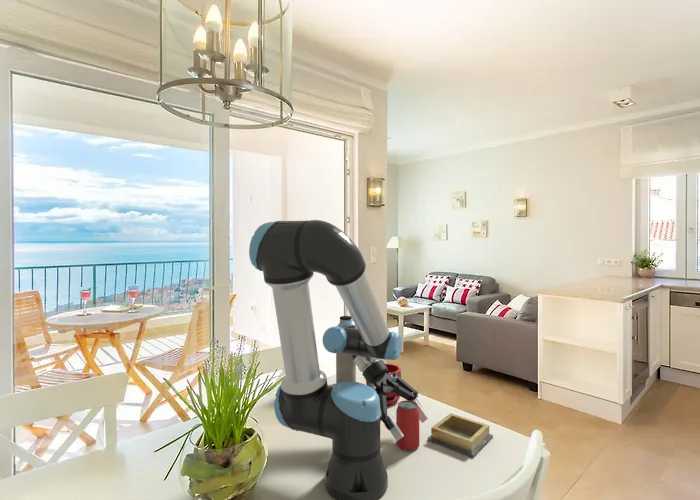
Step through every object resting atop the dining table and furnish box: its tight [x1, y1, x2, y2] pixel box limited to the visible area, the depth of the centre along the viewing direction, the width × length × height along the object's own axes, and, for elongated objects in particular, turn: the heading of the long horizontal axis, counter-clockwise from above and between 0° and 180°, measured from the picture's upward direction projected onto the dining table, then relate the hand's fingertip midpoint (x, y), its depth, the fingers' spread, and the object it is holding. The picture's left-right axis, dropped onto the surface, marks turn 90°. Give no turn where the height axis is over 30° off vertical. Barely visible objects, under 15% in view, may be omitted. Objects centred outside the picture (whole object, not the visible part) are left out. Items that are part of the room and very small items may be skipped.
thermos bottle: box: [335, 315, 357, 385], centre depth 158 cm, size 8×8×28 cm
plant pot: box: [365, 363, 402, 406], centre depth 144 cm, size 13×13×12 cm
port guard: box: [427, 413, 494, 459], centre depth 115 cm, size 14×14×4 cm
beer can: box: [395, 399, 420, 452], centre depth 112 cm, size 7×7×12 cm
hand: (413, 429), depth 111 cm, fingers open, 13 cm apart
